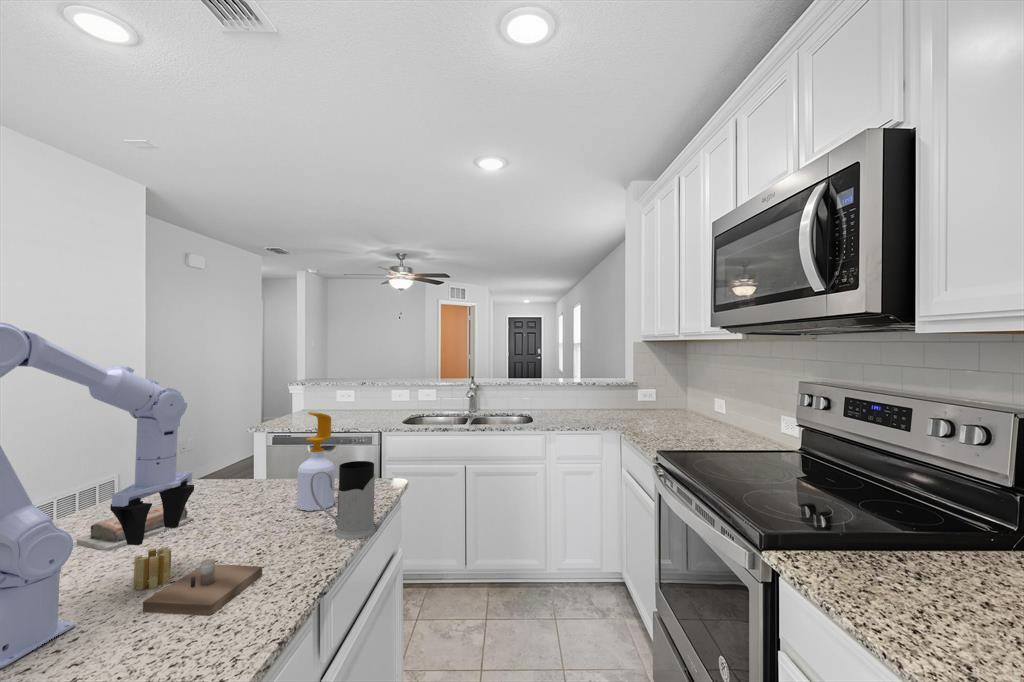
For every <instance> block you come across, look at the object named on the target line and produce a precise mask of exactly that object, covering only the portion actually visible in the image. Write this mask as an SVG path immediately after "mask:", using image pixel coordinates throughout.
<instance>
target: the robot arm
mask: <svg viewBox="0 0 1024 682" xmlns="http://www.w3.org/2000/svg"><path fill="white" fill-rule="evenodd" d="M17 367H27V368H28V367H31V368H35V369H37V370H40V371H43V372H46V373H47V374H48V373H49V374H51V375H54V376H57V377H59V378H63V379H65V380H68V381H71V382H74V383H76V384H79V385H81V386H85V387H87V388H88V391H89V394H90V396H91V397H92V398H93V399H94V400H97V401H100V402H101V403H105V404H108V405H110V406H112V407H115V408H118V409H121V410H123V411H124V412H125V411H126V412H128V413H129V415H130V416H131V417H132V418H133V419H135V420H136V439H135V441H136V443H135V463H134V464H135V465H134V466H135V468H134V471H135V472H134V483H133V484H131V485H130V486H127V487H125V488H124V489H122V490H120V491H118V492H115V493H112V494H111V503H110V512H112V513H113V515H114V517H117V519H118V520H119V522H120V524H121V526H122V529H123V531H124V534H125V538H126V541H127V546H140V545H142V544H143V542H144V540H145V539H144V532H145V523H146V519H147V515H148V513H149V510H150V508H151V506H153V503H151V502H149V503H148V502H144V501H143V500H142V499H144V498H147V497H150V496H153V495H155V494H158V493H159V496H160V499H161V504H162V505H163V519H164V526H165V528H174V529H177V528H179V527H178V525H179V522H180V519H181V516H182V513H183V510H184V507H185V508H186V505H187V502H188V501H189V498H190V497H191V495H192V494H193V493H194V491H195V484H190V483H192V482H193V471H180V472H177V459H178V458H177V456H178V455H177V454H178V451H177V450H178V433H179V432H178V429H179V427H180V426H181V418H182V417H183V416H184V414H185V413H186V410H187V408H188V402H186V401H185V399H184V397H183V395H182V394H181V392H180V391H179V390H177V389H175V388H172V387H171V388H170V387H168V388H167V387H161V386H160V382H159V381H157V380H155V379H146V378H144V377H142V376H141V375H138V374H136V373H134V371H135V369H134V368H133V367H130V366H129V365H128V366H126V365H122V366H117V365H116V366H115V365H114V366H110V367H106V368H103V367H101V366H99V365H98V364H95V363H93V362H92V361H89V360H87V359H85V358H83V357H81V356H79V355H77V354H75V353H73V352H71V351H69V350H67V349H65V348H63V347H61V346H59V345H57V344H55V343H53V342H51V341H50V340H47V339H46V338H43V337H42V336H41V335H39V334H37V333H35V332H31V331H28V330H21V329H20V328H19V327H17V326H15V325H13V324H10V323H7V322H3V321H0V379H2V378H3V377H4V376H6V375H7V374H8V373H10V372H11V371H13V370H15V369H16V368H17ZM73 550H74V540H73V537H72V535H71V534H70V533H69V532H68V531H66V530H64V529H61V528H59V527H57V526H56V524H55V523H54V521H53V519H52V518H51V517H50V516H49V515H48V514H46V513H45V512H43V510H41V509H39V508H38V507H37V506H35V505H34V504H33V502H32V500H31V498H30V497H29V495H28V493H27V491H26V489H25V488H24V485H23V484H22V483H21V480H20V477H18V475H17V472H16V471H15V469H14V467H13V466H12V464H11V462H10V460H9V458H8V456H7V455H6V453H5V451H4V449H3V448H2V446H1V445H0V669H1V668H4V667H7V666H8V665H10V664H12V663H13V662H15V661H17V660H19V659H20V658H22V657H23V656H25V655H27V654H29V653H30V652H32V650H33V651H34V650H36V649H38V648H39V647H41V646H43V645H45V644H47V643H48V642H50V641H52V640H53V639H55V638H57V637H59V636H60V635H62V634H64V633H65V632H67V631H68V630H71V629H73V628H75V626H76V622H75V621H73V622H72V621H60V620H58V619H59V601H60V573H61V572H62V571H61V570H62V567H63V566H64V565H65V564H66V563H67V562H68V560H69V558H70V557H71V555H72V553H73ZM58 635H59V636H58ZM56 636H57V637H56ZM54 637H55V638H54ZM51 639H52V640H51ZM49 640H50V641H49ZM44 643H45V644H44ZM42 644H43V645H42ZM37 647H38V648H37Z"/></svg>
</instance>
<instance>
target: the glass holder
mask: <svg viewBox="0 0 1024 682" xmlns="http://www.w3.org/2000/svg"><path fill="white" fill-rule="evenodd" d="M338 467H339V468H338V469H339V471H338V488H335V487H334V488H333V487H332V478H331V476H330V474H329V473H327V472H326V471H319V472H316V473H315V474H314V475H313V476H312V478H311V493H312V496H313V498H314V500H315V502H316V504H317V505H318V506H319V507H320V508H321V509H322V510H321V511H323V512H324V513H326V514H327V515H329V516H330V517H331V518H332V519H333V520H334V521H335V525H336V530H335V532H334V537H336V538H338V539H341V540H360V539H365V538H367V537H370V536H372V535H374V534H375V532H376V530H377V529H376V527H375V521H374V520H375V487H376V486H375V485H376V484H375V482H376V481H375V476H376V475H375V474H376V473H375V462H372V461H369V460H368V461H367V460H355V461H347V462H343V463H340V464H339V466H338ZM318 473H325V474H326V475H327V476H328V477H329V479H330V488H331V489H332V490H334V492H335V491H337V514H336V515H337V517H336V516H335V515H334V514H332V513H331V512H330V511H329V510H327V509H325V508H324V507H323V506H321V505H320V503H319V502H318V501H317V499H316V497H315V495H314V491H313V478H314V476H315V475H316V474H318Z"/></svg>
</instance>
